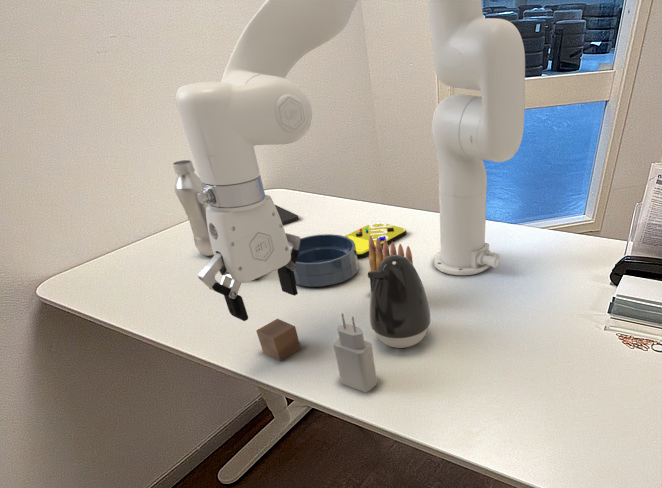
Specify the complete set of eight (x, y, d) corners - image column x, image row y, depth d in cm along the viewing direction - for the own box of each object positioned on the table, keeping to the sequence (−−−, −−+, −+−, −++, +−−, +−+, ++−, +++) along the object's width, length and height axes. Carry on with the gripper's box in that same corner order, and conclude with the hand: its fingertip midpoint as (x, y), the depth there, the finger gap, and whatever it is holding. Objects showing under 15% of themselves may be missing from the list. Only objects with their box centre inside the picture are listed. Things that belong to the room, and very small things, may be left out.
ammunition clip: (371, 295, 96) (363, 236, 88) (377, 291, 97) (370, 233, 89) (413, 309, 91) (409, 249, 83) (419, 305, 92) (415, 245, 84)
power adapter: (351, 371, 77) (339, 305, 69) (379, 381, 74) (369, 314, 67) (339, 382, 75) (325, 315, 67) (367, 393, 72) (355, 325, 65)
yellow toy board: (362, 260, 108) (361, 253, 107) (326, 250, 113) (325, 243, 112) (409, 233, 120) (408, 227, 119) (374, 225, 124) (374, 219, 123)
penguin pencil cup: (360, 340, 83) (346, 257, 73) (404, 317, 89) (397, 237, 79) (398, 364, 78) (389, 278, 68) (443, 338, 83) (441, 254, 73)
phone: (275, 224, 125) (248, 210, 133) (276, 227, 125) (249, 213, 134) (300, 216, 129) (272, 203, 137) (300, 219, 129) (273, 206, 138)
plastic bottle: (229, 255, 112) (199, 164, 99) (199, 261, 111) (164, 168, 98) (228, 245, 117) (199, 156, 104) (198, 250, 115) (165, 160, 102)
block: (301, 348, 82) (295, 326, 79) (280, 361, 79) (273, 338, 76) (283, 340, 84) (277, 318, 81) (263, 352, 81) (255, 330, 79)
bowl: (372, 267, 105) (369, 243, 102) (322, 296, 96) (317, 270, 93) (324, 252, 112) (320, 229, 109) (273, 277, 103) (266, 253, 100)
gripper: (193, 216, 58) (234, 336, 69) (302, 180, 68) (323, 290, 79) (159, 204, 61) (204, 321, 72) (268, 172, 72) (292, 278, 83)
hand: (266, 304), depth 76 cm, fingers open, 9 cm apart
